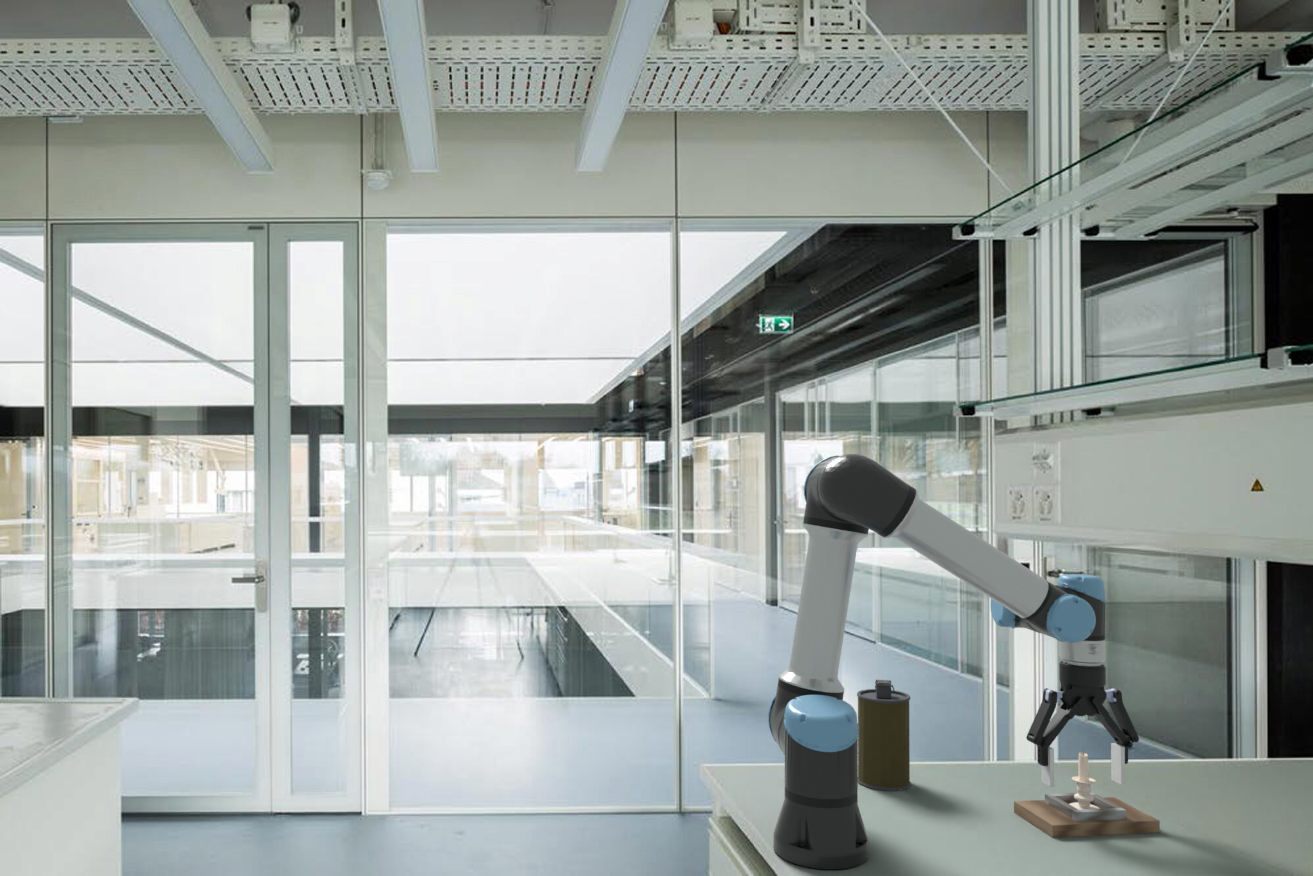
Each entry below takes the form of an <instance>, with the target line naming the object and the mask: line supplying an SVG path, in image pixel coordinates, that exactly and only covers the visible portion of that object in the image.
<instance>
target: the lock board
mask: <svg viewBox="0 0 1313 876" xmlns="http://www.w3.org/2000/svg"><path fill="white" fill-rule="evenodd" d="M1077 793H1078V792H1068V793H1067V792H1066V793H1045V794H1044V799H1037V800H1036V799H1035V800H1013V813H1014V814H1016V815H1017V816H1019V817H1021V818H1022V819H1023V820H1025V821H1026V822H1028V823H1030V824H1031V825H1032V826H1034V827H1035V828H1037V829H1039V830H1040V831H1042V832H1043V833H1045V834H1047V835H1048V836H1049V837H1051V838H1069V837H1071V838H1072V837H1091V836H1093V837H1094V836H1110V835H1111V836H1112V835H1131V834H1132V835H1134V834H1136V835H1138V834H1153V833H1154V834H1156V833H1158V834H1159V833H1160V832H1161V831H1160V829H1161V828H1160V819H1157V818H1155V817H1153V816H1152V815H1149V814H1148V813H1146V812H1144V811H1142V810H1140V809H1138V808H1137V807H1134V806H1132V805H1130V804H1128V803H1126V802H1124V801H1123V800H1121V799H1118V798H1117V797H1115V796H1112V797H1109V796H1108V797H1103V796H1100V795H1099V794H1097V793H1094V792H1092V791H1091V793H1090V795H1091V796H1093V797H1094V801H1092V802H1090V804H1091V805H1094V806H1097V807H1098V808H1100V809H1082V810H1078V809H1076V808H1075V807H1073V806H1071V805H1069V804H1070V803H1075V802H1078V800H1077V799H1075V798H1074V795H1075V794H1077Z"/></svg>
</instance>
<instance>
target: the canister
mask: <svg viewBox="0 0 1313 876" xmlns="http://www.w3.org/2000/svg"><path fill="white" fill-rule="evenodd" d="M856 696H857V723H858V727H859V735H858V783H859V784H860V785H861V786H863V787H865V788H868V789H871V790H877V791H881V792H882V791H883V792H897V791H904V790H907V789H909V788H910V787H911V785H912V783H911V781H910V780H911V778H910V776H911V775H910V771H911V770H910V768H911V767H910V700H911V695H909V693H905V692H903V691H900V690H895V688H894V685H893V684H892V680H888V679H875V686H874V688H868V689H862V690H861V689H860V690H859V691H857V693H856Z"/></svg>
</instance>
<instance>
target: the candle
mask: <svg viewBox="0 0 1313 876" xmlns="http://www.w3.org/2000/svg"><path fill="white" fill-rule="evenodd" d="M1089 764H1090V763H1089V754H1088V753H1086V752H1084V750H1083V751H1081V752H1078V775H1076V776H1075V775H1074V776H1072V777H1071V780H1072V781H1074V782H1076V791H1077V792H1076V793H1077V794H1075V795H1074V798H1075V799H1077V800H1078V802H1075V803H1070V804H1069V805H1071V806H1073V807H1075V808H1076V809H1078V810H1082V809H1100V808H1098V807H1097V806H1094V805H1091V804H1090V802H1092V801H1094V797H1093V796H1091V795H1090V793H1091V792H1092V790H1091V784H1095V783H1096V779H1094V778H1092V777H1090V774H1089V773H1090V771H1089V770H1090V769H1089V767H1090V766H1089Z"/></svg>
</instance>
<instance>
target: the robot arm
mask: <svg viewBox="0 0 1313 876" xmlns="http://www.w3.org/2000/svg"><path fill="white" fill-rule="evenodd" d="M803 495H804V501H805V508H804V514H803V521H802V526H803V528H804V529H805V531H806V532H807V533H808V535H809V539H808V545H807V552H806V556H805V557H806V558H805V565H804V570H803V576H802V577H803V578H802V583H801V589H800V596H799V603H798V608H797V616H796V621H795V628H794V634H793V635H794V636H793V639H792V647H791V654H790V660H789V661H790V662H789V665H788V666H789V667H788V668H787V669H786V670H783V672H781V673H780V674H779V675H778V681H777V687H776V694H775V695H774V697H773V698H772V700H771V701H770V705H769V708H768V717H767V720H768V721H767V722H768V727H769V731H770V734H771V736H772V739H773V740H774V741H775V742H776V744H777V746H778V747H779V749H780V750H781V752H782V753H783V755H784V756H783V757H784V798H783V799H784V800H783V803H782V805H781V808H780V811H779V815H778V818H777V822H776V825H775V827H774V831H773V850H774V852H775V853H776V855H778V857H780V858H782V859H783V860H785V861H787V862H790V863H792V864H794V865H795V864H796V865H798V866H801V867H807V868H813V869H820V870H841V869H842V870H843V869H849V868H854V867H857V866H859V865H862V864H864V863H865V862H866V861H867V860H868V859H869V856H870V842H869V837H868V834H867V831H866V827H865V824H864V820H863V818H862V814H861V811H860V807H859V804H858V803H859V802H858V798H859V797H858V795H859V794H858V788H859V787H858V735H859V727H858V713H857V712H856V710H855V708H854V707H853V706H852V704H850V703H849V702H847V701H845V700H844V694H845V687H844V686H843V684H842V683H841V681H840V679H839V678H838V675H839V669H840V668H839V667H840V663H841V662H840V661H841V656H842V651H843V650H842V648H843V642H844V636H845V630H846V622H847V617H848V610H849V603H850V597H851V590H852V583H853V577H854V576H853V575H854V572H855V571H854V570H855V563H856V557H857V550H858V544H859V543H860V542H862V541H863V540H865V538H867V537H868V535H869V530H870V531H872V532H874V533H876V534H877V535H879V536H881V537H882V538H884V539H890V538H895V539H897V540H898V541H900V542H901V543H903V544H904V545H906V546H908V547H909V548H911V549H912V550H913V551H915V552H916V553H919V554H920V555H922V556H923V557H924V558H926V559H928V560H930V561H931V562H933V563H934V564H936V565H937V566H939V567H940V568H942V569H943V570H946V571H947V572H949V573H950V574H952V575H954V576H955V577H956V578H958V579H960V580H961V581H963V582H964V583H966V584H967V585H968V586H971V587H972V588H973V589H976V590H977V591H979V592H980V593H982V595H985V596H987V598H989V599H990V612H991V616H992V619H993V621H994V622H995V625H997V626H999V627H1002V628H1012V629H1015V628H1020V629H1027V630H1030V631H1032V632H1036V633H1039V634H1041V635H1045V636H1048V637H1050V638H1052V639H1055V640H1057V641H1058V647H1059V648H1058V657H1059V659H1061V660H1060V662H1059V663H1058V665H1059V667H1058V669H1059V670H1058V671H1059V673H1058V675H1059V683H1060V688H1059V690H1052V689H1051V688H1044V689H1043V692H1042V693H1043V694H1042V701H1041V703H1040V705H1039V708H1038V710H1037V712H1036V714H1035V717H1034V718H1033V721H1032V723H1031V725H1030V728H1029V730H1028V732H1027V735H1026V741H1028V742H1030V743H1032V744H1035V745H1036V749H1037V750H1036V751H1037V753H1036V755H1037V759H1036V760H1037V761H1036V762H1037V763H1038V765H1040V770H1041V772H1040V775H1041V776H1040V777H1041V779H1040V781H1041V783H1043V785H1044V784H1045V785H1046V786H1048V787H1051V788H1052V787H1055V749H1054V748H1053V747H1052V744H1053V743H1054V741H1055V740H1056V738H1057V737H1058V736H1059V734H1060V733H1061V732H1062V731H1063V729H1064V728H1065V726H1066V725H1067V724H1068V722H1069V721H1070V720H1072V719H1073V718H1074V717H1075V716H1076V717H1083V716H1087V717H1096V718H1097V720H1099V722H1100V723H1101V725H1103V727H1104V728H1105V730H1106V731H1107V732H1108V733H1109V735H1110V736H1111V737H1112V738H1113V741H1115V742H1111V743H1110V764H1111V765H1110V766H1111V767H1110V771H1111V774H1110V775H1111V777H1110V778H1111V781H1113V782H1116V783H1117V784H1119V785H1121V786H1124V785H1126V765H1128V764H1129V748H1132V747H1133V744H1134V743H1138V742H1139V740H1140V737H1139V735H1138V733H1137V730H1136V729H1135V727H1134V724H1133V721H1132V720H1131V718H1130V716H1129V715H1130V714H1129V713H1128V711H1127V709H1126V706H1125V705H1124V701H1123V694H1122V691H1121V690H1119V689H1117V688H1113V687H1107V689H1105V686H1106V683H1107V680H1106V679H1107V678H1106V677H1107V670H1106V666H1105V665H1104V664H1103V663H1105V662H1106V604H1107V601H1106V591H1105V583H1104V580H1103V579H1102V578H1101V577H1100V576H1097V575H1091V574H1077V573H1074V574H1073V573H1071V574H1070V573H1069V574H1064V573H1063V574H1061V575H1059V577H1058V582H1057V585H1056V584H1055V585H1054V584H1053V583H1051V582H1049V581H1048V580H1046V579H1045V578H1044V577H1042V576H1041V575H1039V574H1037V573H1036V572H1034V571H1033V570H1031V569H1029V568H1028V567H1026V566H1025V565H1023V564H1022V563H1020V562H1019V561H1017V560H1016V559H1014V558H1012V557H1011V556H1009V555H1008V554H1006V553H1005V552H1003V551H1001V550H1000V549H998V548H997V547H995V546H994V545H992V544H991V543H989V542H987V541H986V540H984V539H983V538H981V537H980V536H978V535H977V534H975V533H973V532H972V531H970V530H969V529H967V528H966V527H964V526H962V525H961V524H960V523H958V522H956V521H954V520H953V519H951V518H950V517H948V516H947V515H945V514H943V513H942V512H940V511H939V510H937V509H936V508H934V507H933V506H932V505H929V504H928V503H926V502H925V501H923V500H922V499H920V496H919V492H918V490H917V489H916V488H914V487H913V486H912V485H910V484H908V483H907V482H905V481H904V480H903V479H901V478H899V476H897V475H895V474H894V473H892V472H891V471H890V470H889V469H887V468H886V467H884V466H883V465H882V464H880V463H879V462H877V461H875V460H874V459H872V458H870V457H868V456H865V455H862V454H858V453H849V454H848V453H847V454H843V455H833V456H829V457H826V458H823V459H821V460H820V461H818V463H816V464H815V465H814V466H813V467H812V468H811V469H810V471H809V472H808V473H807V476H806V478H805V481H804V486H803ZM1060 701H1061V702H1060ZM1105 701H1107V702H1108V704H1109V705H1108V706H1109V707H1110V710H1111V711H1112V713H1113V716H1114V718H1115V719H1116V721H1114V719H1113V718H1112V717H1111V715H1110V713H1109V711H1108V710H1107V708H1106V707H1105V706H1104V705H1103V704H1104V702H1105ZM1057 703H1060V704H1059V705H1058V707H1057ZM1055 711H1056V712H1055ZM1054 712H1055V713H1054ZM1116 722H1117V723H1116Z"/></svg>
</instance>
